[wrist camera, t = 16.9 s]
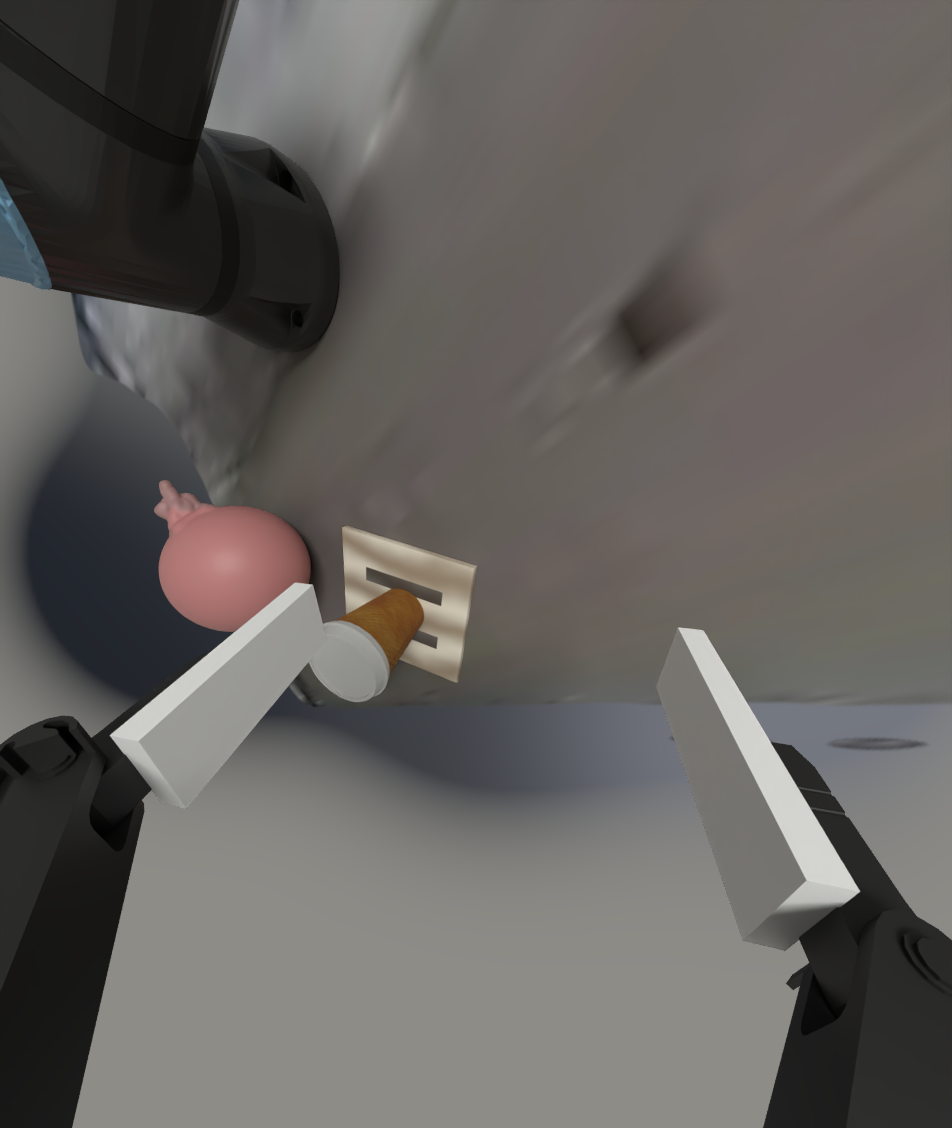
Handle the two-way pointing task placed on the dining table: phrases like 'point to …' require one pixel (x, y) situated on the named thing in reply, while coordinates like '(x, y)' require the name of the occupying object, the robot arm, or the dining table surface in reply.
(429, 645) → the board
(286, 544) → the balloon
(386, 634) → the disposable coffee cup
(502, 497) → the dining table surface
